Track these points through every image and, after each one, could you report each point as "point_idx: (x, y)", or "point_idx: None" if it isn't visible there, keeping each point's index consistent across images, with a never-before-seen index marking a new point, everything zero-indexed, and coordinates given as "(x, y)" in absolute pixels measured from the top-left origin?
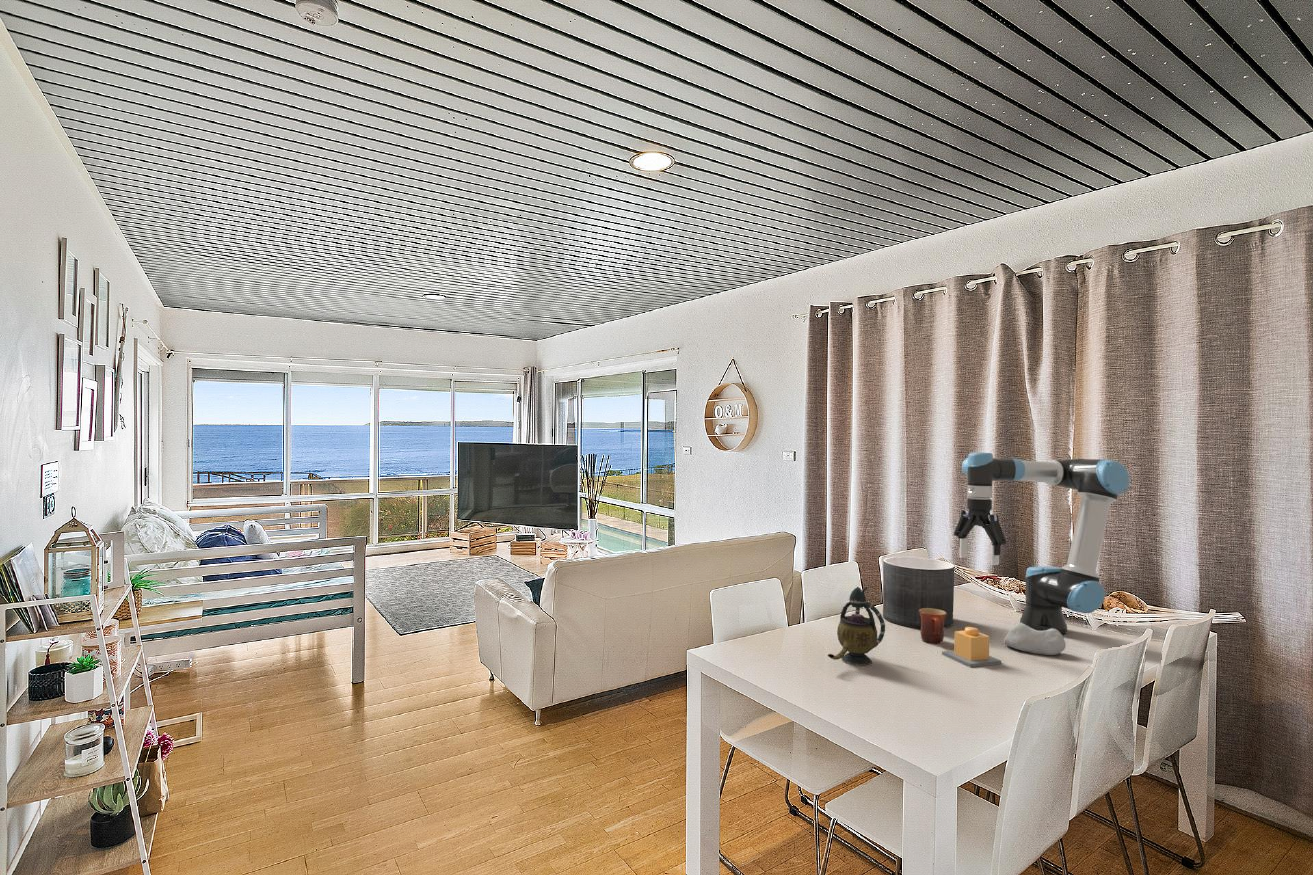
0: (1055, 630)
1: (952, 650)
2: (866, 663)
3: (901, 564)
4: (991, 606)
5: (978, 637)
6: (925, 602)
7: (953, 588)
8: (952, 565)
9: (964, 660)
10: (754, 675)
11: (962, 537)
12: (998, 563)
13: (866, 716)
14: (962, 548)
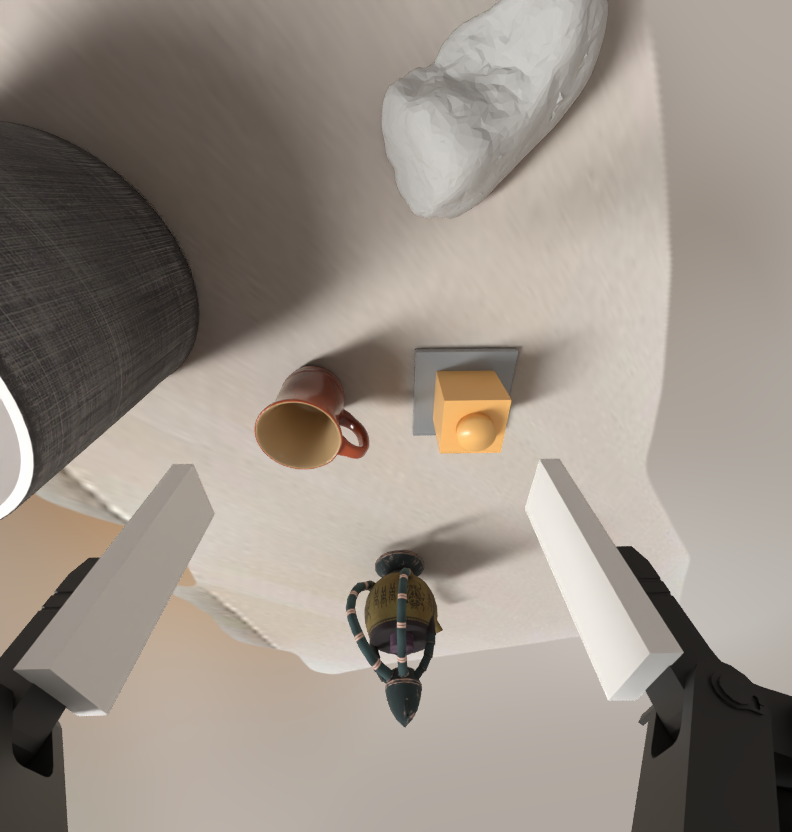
0: (586, 7)
1: (414, 409)
2: (422, 566)
3: None
4: None
5: (504, 432)
6: (149, 369)
7: None
8: None
9: None
10: (410, 654)
11: (41, 717)
12: (563, 471)
13: (557, 620)
14: (169, 579)
